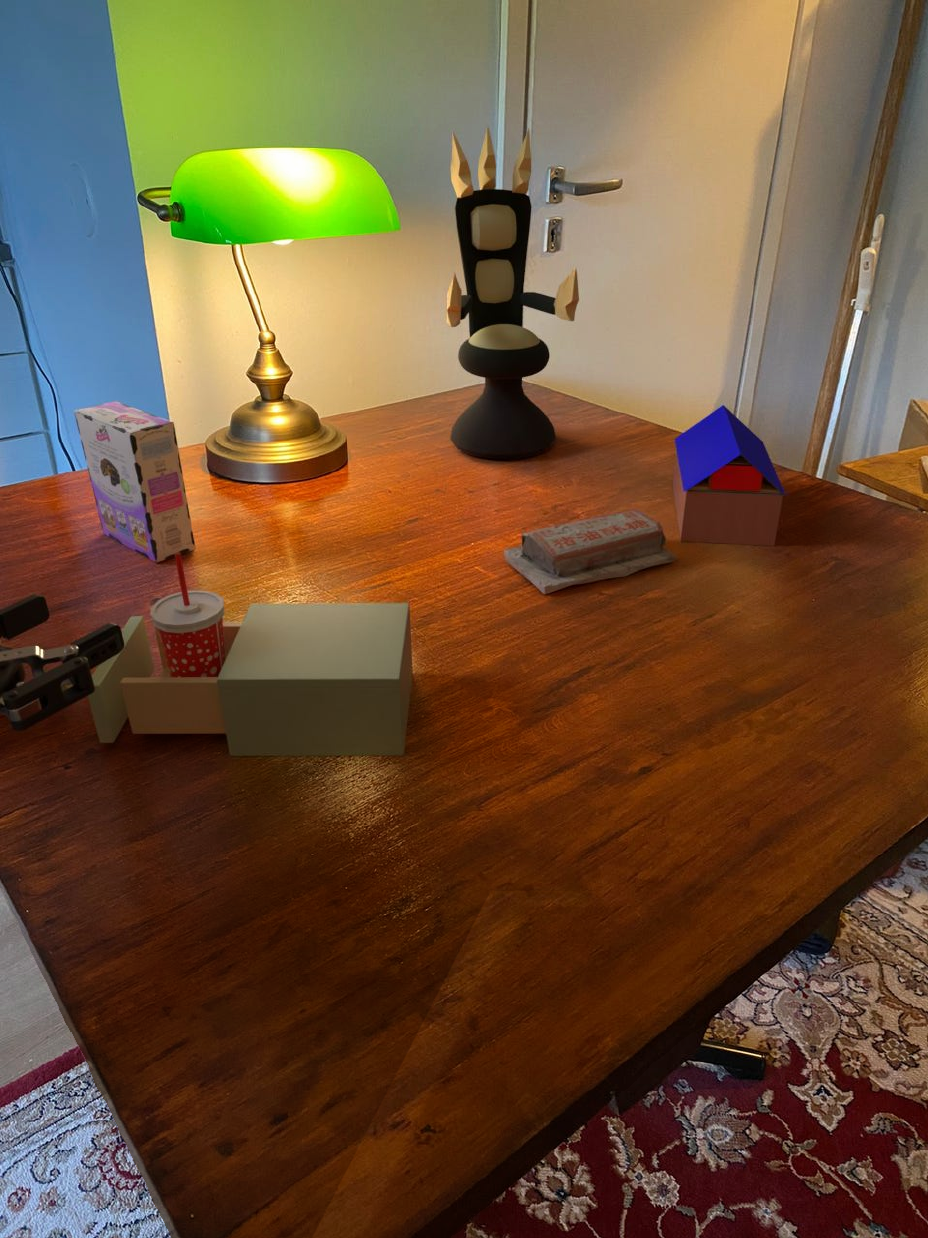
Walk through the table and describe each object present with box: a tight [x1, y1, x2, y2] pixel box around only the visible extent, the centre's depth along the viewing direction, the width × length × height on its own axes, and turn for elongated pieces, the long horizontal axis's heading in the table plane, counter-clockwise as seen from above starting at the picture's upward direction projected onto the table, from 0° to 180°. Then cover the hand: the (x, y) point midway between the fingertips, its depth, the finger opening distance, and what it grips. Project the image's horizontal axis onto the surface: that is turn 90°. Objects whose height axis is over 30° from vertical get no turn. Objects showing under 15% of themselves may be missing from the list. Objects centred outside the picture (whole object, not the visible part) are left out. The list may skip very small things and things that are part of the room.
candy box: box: [73, 400, 196, 564], centre depth 111 cm, size 14×6×16 cm, turn 46°
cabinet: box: [217, 602, 414, 757], centre depth 81 cm, size 15×13×8 cm
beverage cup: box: [149, 552, 226, 677], centre depth 78 cm, size 6×6×14 cm
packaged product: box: [503, 508, 677, 595], centre depth 107 cm, size 18×5×10 cm
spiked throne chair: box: [446, 124, 580, 460], centre depth 136 cm, size 19×22×45 cm
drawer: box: [61, 615, 243, 744], centre depth 81 cm, size 18×12×6 cm, turn 89°
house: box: [671, 404, 787, 547], centre depth 118 cm, size 12×20×12 cm, turn 172°
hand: (80, 619), depth 68 cm, fingers open, 8 cm apart
